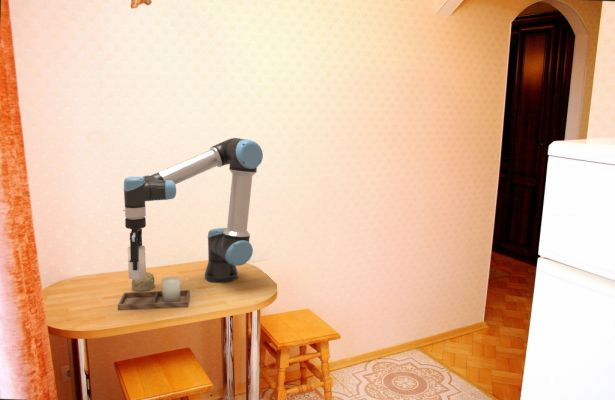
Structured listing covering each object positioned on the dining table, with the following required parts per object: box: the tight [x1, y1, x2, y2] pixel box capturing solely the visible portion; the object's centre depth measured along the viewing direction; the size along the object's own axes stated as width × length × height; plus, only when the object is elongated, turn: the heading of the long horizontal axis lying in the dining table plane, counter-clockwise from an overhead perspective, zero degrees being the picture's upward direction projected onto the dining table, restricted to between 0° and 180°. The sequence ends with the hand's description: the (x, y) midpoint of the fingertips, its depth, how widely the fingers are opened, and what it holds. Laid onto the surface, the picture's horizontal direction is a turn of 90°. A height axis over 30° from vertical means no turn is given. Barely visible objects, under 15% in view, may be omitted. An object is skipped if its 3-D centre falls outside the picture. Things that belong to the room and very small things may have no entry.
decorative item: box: [131, 271, 155, 292], centre depth 223 cm, size 10×10×10 cm
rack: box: [117, 289, 191, 311], centre depth 208 cm, size 26×13×3 cm, turn 99°
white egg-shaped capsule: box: [161, 276, 181, 303], centre depth 208 cm, size 7×7×9 cm
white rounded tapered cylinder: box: [127, 244, 147, 280], centre depth 204 cm, size 6×6×12 cm
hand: (137, 274), depth 205 cm, fingers closed on white rounded tapered cylinder, 6 cm apart
